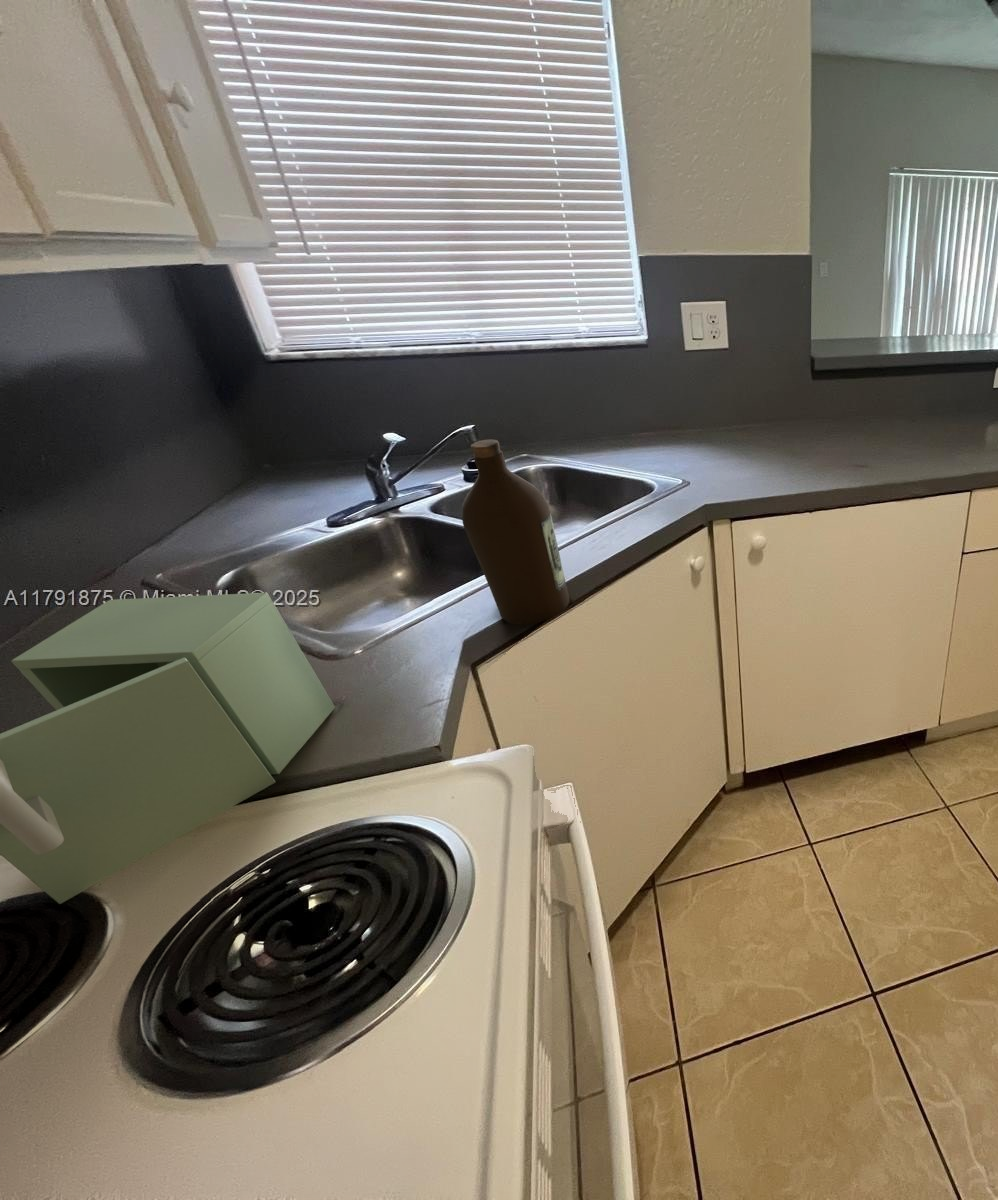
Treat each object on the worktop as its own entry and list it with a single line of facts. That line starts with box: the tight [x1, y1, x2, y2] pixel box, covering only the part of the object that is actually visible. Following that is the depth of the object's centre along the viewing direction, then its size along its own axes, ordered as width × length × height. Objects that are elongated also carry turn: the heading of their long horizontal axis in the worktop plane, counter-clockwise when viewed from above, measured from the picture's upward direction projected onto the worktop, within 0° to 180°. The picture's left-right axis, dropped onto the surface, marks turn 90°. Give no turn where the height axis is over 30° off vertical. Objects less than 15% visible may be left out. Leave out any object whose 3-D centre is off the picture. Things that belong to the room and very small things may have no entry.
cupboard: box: [10, 592, 336, 776], centre depth 65 cm, size 10×16×17 cm, turn 92°
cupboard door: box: [0, 658, 276, 905], centre depth 53 cm, size 7×16×17 cm, turn 144°
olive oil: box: [461, 438, 570, 626], centre depth 84 cm, size 11×11×25 cm
